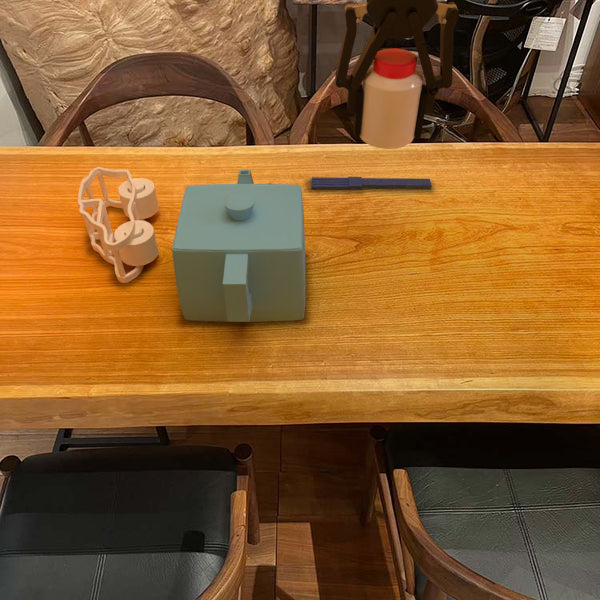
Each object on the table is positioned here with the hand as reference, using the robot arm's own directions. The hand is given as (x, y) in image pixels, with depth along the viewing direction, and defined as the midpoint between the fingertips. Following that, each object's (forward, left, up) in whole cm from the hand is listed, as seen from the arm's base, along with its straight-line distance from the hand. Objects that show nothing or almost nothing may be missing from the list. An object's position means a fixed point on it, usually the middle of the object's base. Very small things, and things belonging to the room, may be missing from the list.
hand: (386, 132), depth 82 cm
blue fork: (+5, -10, -17) cm, 21 cm away
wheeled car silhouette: (+34, +21, -17) cm, 44 cm away
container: (+12, +20, -17) cm, 29 cm away
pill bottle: (0, 0, 0) cm, 0 cm away
